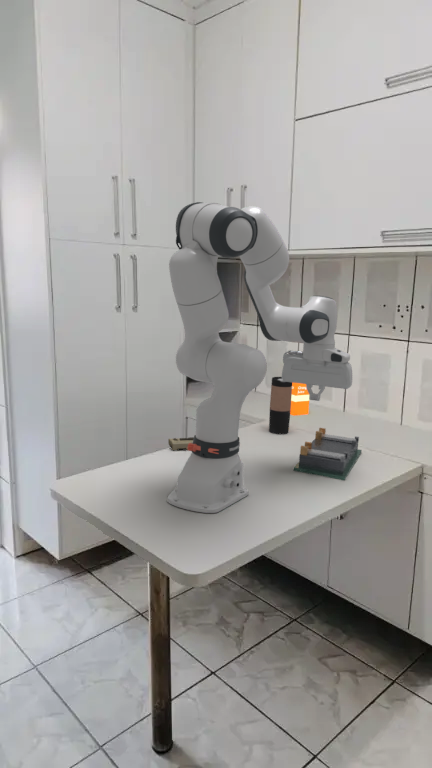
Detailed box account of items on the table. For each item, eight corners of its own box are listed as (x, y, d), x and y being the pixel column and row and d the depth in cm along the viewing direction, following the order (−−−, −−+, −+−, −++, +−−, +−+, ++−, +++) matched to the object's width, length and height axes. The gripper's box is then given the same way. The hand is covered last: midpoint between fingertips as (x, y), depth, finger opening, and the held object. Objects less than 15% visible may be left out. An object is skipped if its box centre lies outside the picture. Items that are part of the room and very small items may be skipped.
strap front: (343, 460, 150) (343, 457, 150) (302, 453, 155) (302, 450, 155) (345, 457, 153) (345, 454, 153) (305, 450, 158) (305, 448, 158)
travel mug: (277, 427, 198) (280, 375, 195) (293, 432, 193) (297, 379, 189) (264, 430, 193) (267, 377, 189) (280, 435, 188) (284, 381, 184)
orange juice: (293, 415, 217) (296, 368, 213) (281, 410, 225) (284, 365, 221) (308, 414, 221) (312, 367, 217) (296, 409, 229) (299, 364, 225)
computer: (213, 442, 178) (214, 433, 177) (219, 450, 170) (220, 440, 170) (168, 444, 174) (168, 435, 173) (172, 452, 166) (172, 442, 166)
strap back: (354, 443, 166) (354, 441, 166) (317, 437, 171) (317, 435, 171) (356, 441, 169) (356, 438, 169) (319, 435, 174) (319, 433, 174)
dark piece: (344, 480, 147) (346, 456, 146) (293, 470, 153) (295, 447, 152) (361, 452, 172) (363, 432, 171) (316, 445, 178) (318, 425, 177)
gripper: (280, 350, 151) (277, 397, 154) (351, 357, 143) (347, 406, 146) (286, 348, 157) (283, 393, 159) (355, 355, 149) (351, 402, 151)
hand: (314, 400), depth 152 cm, fingers closed
